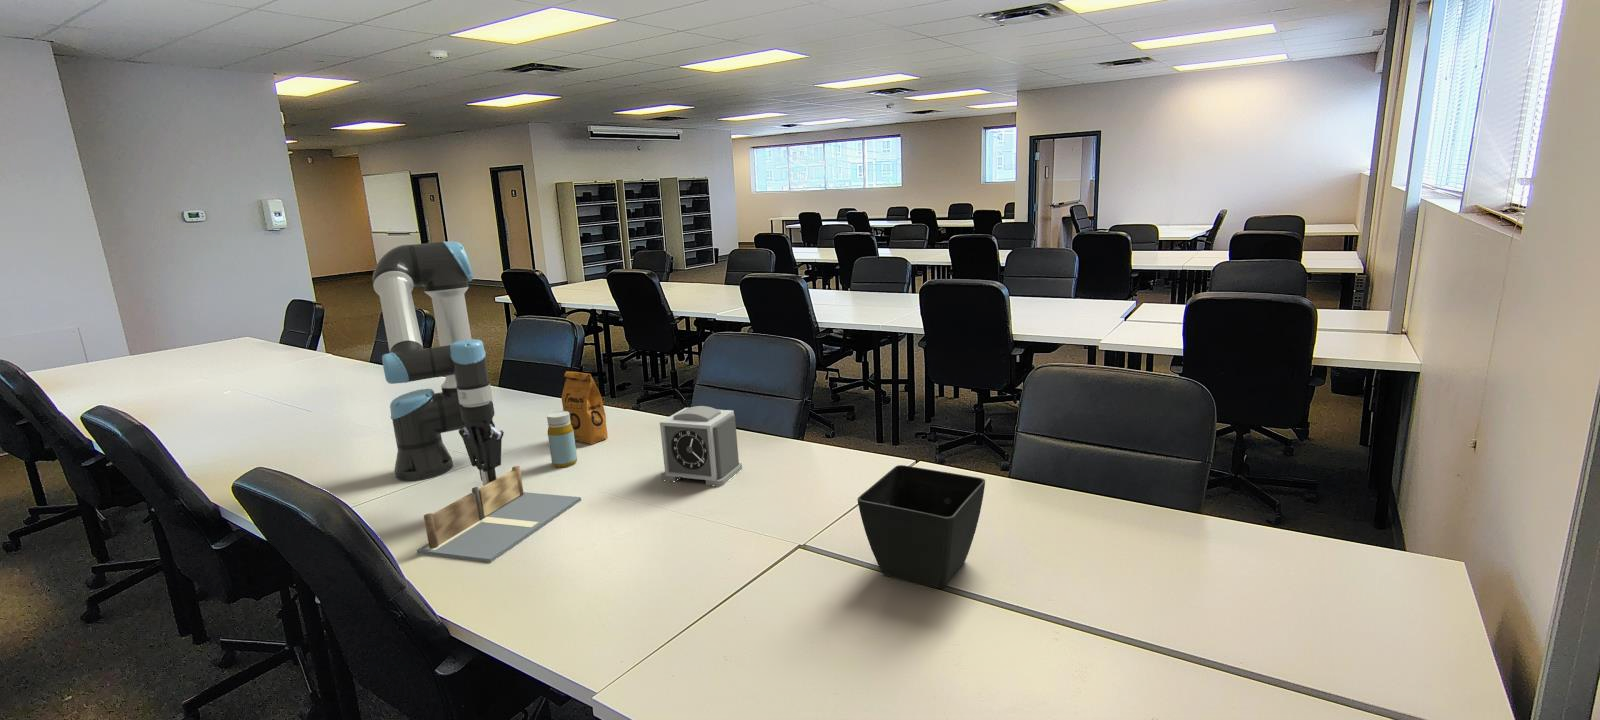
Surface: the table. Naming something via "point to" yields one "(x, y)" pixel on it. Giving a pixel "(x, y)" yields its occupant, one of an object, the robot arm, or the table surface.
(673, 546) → the table surface
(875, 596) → the table surface
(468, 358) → the robot arm
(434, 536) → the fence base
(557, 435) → the bottle
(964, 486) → the flower pot
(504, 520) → the board
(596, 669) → the table surface
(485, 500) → the panel
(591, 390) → the coffee package
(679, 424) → the alarm clock
